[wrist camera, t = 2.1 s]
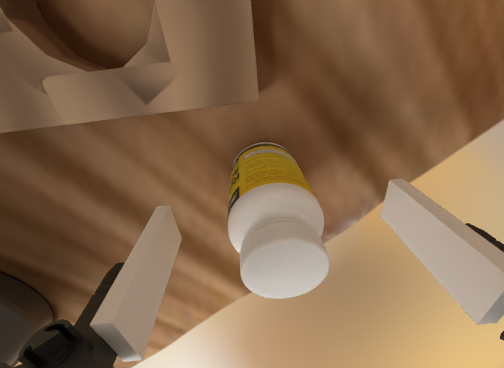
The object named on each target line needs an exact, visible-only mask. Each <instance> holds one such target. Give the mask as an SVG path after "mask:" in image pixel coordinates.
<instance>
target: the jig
mask: <svg viewBox="0 0 504 368" xmlns="http://www.w3.org/2000/svg"><path fill="white" fill-rule="evenodd" d="M254 101H259V91H258V80H257V68H256V56H255V44H254V32H253V21H252V9H251V0H154V5H153V11H152V16H151V22H150V28H149V34H148V39H147V43H146V44H145V45H144V46H143V47H142V48H141V49H140V50H139V51H138V52H137V53H136V54H135V55H134V56H133V58H132V59H131V60H130V61H129V62H128V63H127V64H126V65H125V66H124V67H123V68H115V69H108V68H105V67H103V66H100V65H98V64H96V63H93V62H91V61H89V60H86V59H84V58H81V57H79V56H77V55H76V54H75V53H74V52H73V51H72V50H71V49H70V48H69V47H68V46H67V45H66V44H65V43H64V42H63V41H62V40H61V39H60V38H59V37H58V36H57V35H56V34H55V33H54V32H53V31H52V30H51V29H50V28H49V27H48V26H47V25H46V22H45V20H44V18H43V16H42V14H41V12H40V10H39V8H38V6H37V4H36V2H35V0H0V133H5V132H13V131H21V130H29V129H37V128H45V127H53V126H61V125H69V124H77V123H85V122H93V121H101V120H109V119H117V118H125V117H133V116H141V115H149V114H158V113H166V112H174V111H182V110H190V109H198V108H206V107H214V106H222V105H230V104H238V103H246V102H254Z"/></svg>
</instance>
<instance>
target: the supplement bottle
mask: <svg viewBox="0 0 504 368" xmlns="http://www.w3.org/2000/svg"><path fill="white" fill-rule="evenodd" d="M323 229H324V216H323V212H322V209H321V207H320V204H319V202H318V200H317V199H316V197H315V195H314V193H313V191H312V190H311V188H310V186H309V184H308V182H307V181H306V179H305V177H304V175H303V173H302V172H301V170H300V168H299V166H298V164H297V163H296V161H295V159H294V158H293V156H292V155H291V153H290V152H289V151H288V150H287V149H285V148H284V147H282V146H280V145H278V144H275V143H271V142H260V143H256V144H252V145H250V146H248V147H246V148H245V149H243V150H242V151H241V152H240V153H239V154H238V155H237V157H236V158H235V160H234V162H233V164H232V168H231V176H230V194H229V209H228V234H229V238H230V241H231V243H232V244H233V246H234V248H235V249H236V250H237V251H238V252H239V253H240V271H241V278H242V281H243V283H244V284H245V286H246V287H247V288H248V289H249V290H250V291H252V292H254V293H256V294H257V295H260V296H263V297H267V298H276V299H282V298H291V297H295V296H299V295H302V294H304V293H307V292H309V291H310V290H312V289H314V288H315V287H317V286H318V285H319V284H320V283H321V282H322V281H323V280H324V278H325V277H326V276H327V274H328V271H329V267H330V262H329V256H328V254H327V252H326V250H325V247H324V245H323V242H322V240H321V236H322V233H323Z"/></svg>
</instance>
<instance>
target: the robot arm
mask: <svg viewBox="0 0 504 368" xmlns="http://www.w3.org/2000/svg"><path fill="white" fill-rule="evenodd" d="M380 217H382V219H383V220H384V221H385V222H386V223H387V224H388V226H389V227H390V228H391V229H392V230H393V231H394V232H395V233H396V234H397V236H398V237H399V238H400V239H401V240H402V241H403V242H404V243H405V245H406V246H407V247H408V248H409V249H410V250H411V251H412V252H413V254H414V255H415V256H416V257H417V258H418V259H419V260H420V261H421V262H422V264H423V265H424V266H425V267H426V268H427V269H428V270H429V271H430V273H431V274H432V275H433V276H434V277H435V278H436V279H437V280H438V282H439V283H440V284H441V285H442V286H443V287H444V288H445V289H446V291H447V292H448V293H449V294H450V295H451V296H452V297H453V298H454V300H455V301H456V302H457V303H458V304H459V305H460V306H461V307H462V309H463V310H464V311H465V312H466V313H467V314H468V315H469V316H470V317H471V319H472V320H473V321H474V322H475V323H476V324H477V325H479V324H488V323H497V322H498V321H499V319H500V318H501V317H502V316H503V315H504V244H502V243H501V242H499V241H496V239H495V238H494V237H492V236H491V235H489V234H488V233H487V232H485V231H484V230H482V229H479V228H477V227H475V226H473V225H471V224H469V223H467V224H464V223H463V222H461V221H460V220H459V219H457V218H456V217H455V216H453V215H452V214H450V213H449V212H448V211H446V210H445V209H444V208H442V207H441V206H439V205H438V204H437V203H435V202H434V201H433V200H431V199H430V198H429V197H427V196H426V195H425V194H423V193H422V192H420V191H419V190H418V189H416V188H415V187H414V186H412V185H411V184H410V183H408V182H407V181H405V180H404V179H403V178H401V179H392V180H389V184H388V188H387V192H386V196H385V200H384V204H383V208H382V212H381V216H380ZM181 240H182V237H181V235H180V232H179V229H178V226H177V224H176V221H175V218H174V216H173V213H172V210H171V208H170V205H166V206H157V207H156V209H155V211H154V213H153V214H152V216H151V218H150V220H149V221H148V223H147V225H146V227H145V228H144V230H143V232H142V234H141V235H140V237H139V239H138V241H137V242H136V244H135V246H134V248H133V249H132V251H131V253H130V255H129V257H128V258H127V260H126V262H124V263H117V264H116V265H115V266H114V267H113V268H112V269H111V270H110V271H109V272H108V273H107V274H106V275H105V277H104V279H103V280H102V282H101V283H100V284H101V285H100V286H99V287H98V288H97V290H96V291H95V295H93V296H92V298H91V299H90V301H89V303H88V304H87V306H86V307H85V309H84V311H83V312H82V314H81V315H80V317H79V319H78V320H77V322H76V323H75V325H74V326H73V325H72V324H71V323H70V322H69V321H67V320H63V319H62V320H57V321H53V313H52V310H51V308H50V306H49V305H48V304H47V302H46V301H45V300H44V299H43V298H42V297H41V296H40V295H39V294H38V293H36V292H35V291H34V290H32V289H31V288H29V287H28V286H26V285H24V284H23V283H21V282H19V281H17V280H15V279H13V278H11V277H8V276H6V275H4V274H1V273H0V368H13V367H14V366H15V365H16V364H17V363H18V362H19V361H20V362H21V363H23V364H21V365H18V366H16V367H14V368H114V367H113V364H114V362H115V359H116V357H117V355H118V357H119V358H120V359H121V360H122V361H123V362H126V361H136V360H143V357H144V354H145V350H146V347H147V344H148V341H149V338H150V335H151V332H152V329H153V326H154V323H155V320H156V317H157V314H158V311H159V308H160V305H161V302H162V298H163V295H164V292H165V289H166V286H167V283H168V280H169V277H170V274H171V271H172V268H173V265H174V262H175V259H176V256H177V253H178V250H179V246H180V243H181ZM500 339H502V340H504V331H503V332H502V333H501V336H500Z"/></svg>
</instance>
